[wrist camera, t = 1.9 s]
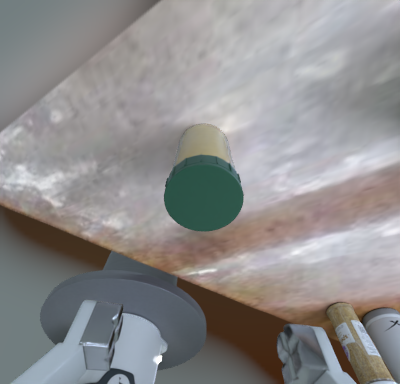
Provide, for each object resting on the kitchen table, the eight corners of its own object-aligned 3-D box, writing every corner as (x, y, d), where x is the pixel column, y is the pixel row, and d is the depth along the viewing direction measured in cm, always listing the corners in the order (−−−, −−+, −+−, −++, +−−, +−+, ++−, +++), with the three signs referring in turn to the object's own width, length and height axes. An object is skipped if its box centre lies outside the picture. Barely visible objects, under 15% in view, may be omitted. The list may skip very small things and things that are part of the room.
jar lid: (215, 227, 22) (216, 242, 20) (154, 199, 21) (150, 212, 19) (255, 176, 19) (260, 188, 18) (188, 139, 18) (187, 148, 16)
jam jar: (212, 179, 30) (215, 236, 21) (170, 157, 28) (154, 208, 19) (238, 139, 27) (256, 185, 18) (193, 113, 26) (188, 149, 17)
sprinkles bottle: (322, 306, 43) (366, 402, 31) (348, 298, 41) (404, 395, 30) (330, 319, 45) (374, 414, 33) (355, 311, 43) (410, 407, 32)
